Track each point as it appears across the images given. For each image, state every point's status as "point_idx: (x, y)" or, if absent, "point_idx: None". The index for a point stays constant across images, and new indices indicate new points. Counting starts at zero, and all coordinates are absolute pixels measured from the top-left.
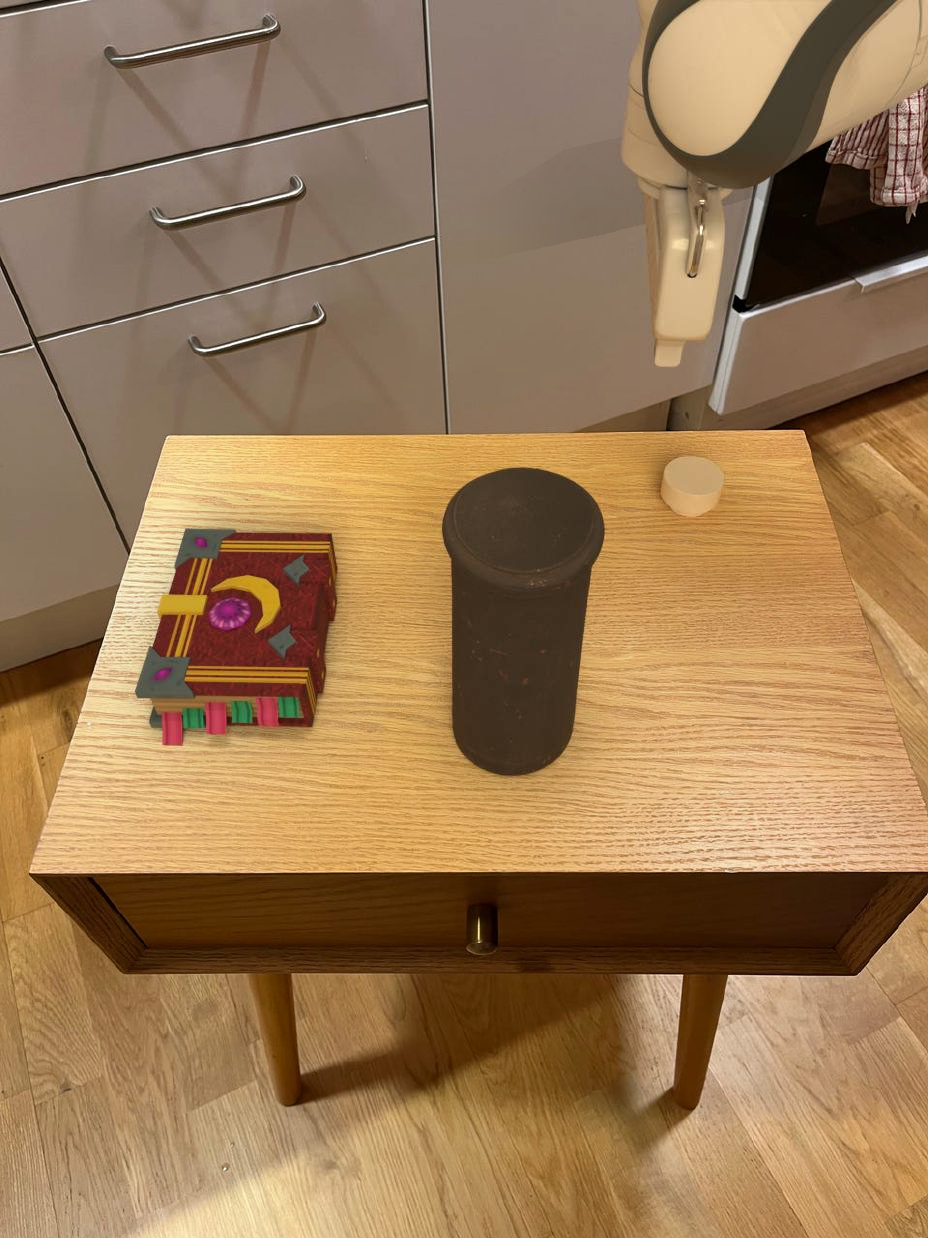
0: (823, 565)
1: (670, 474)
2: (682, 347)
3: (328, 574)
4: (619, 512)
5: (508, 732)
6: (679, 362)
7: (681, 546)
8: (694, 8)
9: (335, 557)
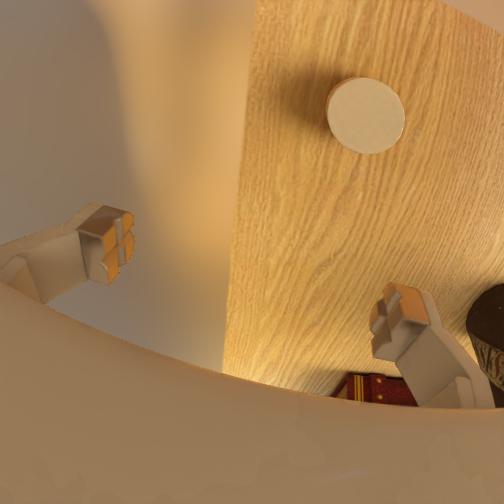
0: (469, 25)
1: (359, 145)
2: (441, 323)
3: (381, 402)
4: (355, 187)
5: None
6: (432, 295)
7: (419, 144)
8: None
9: (348, 382)
